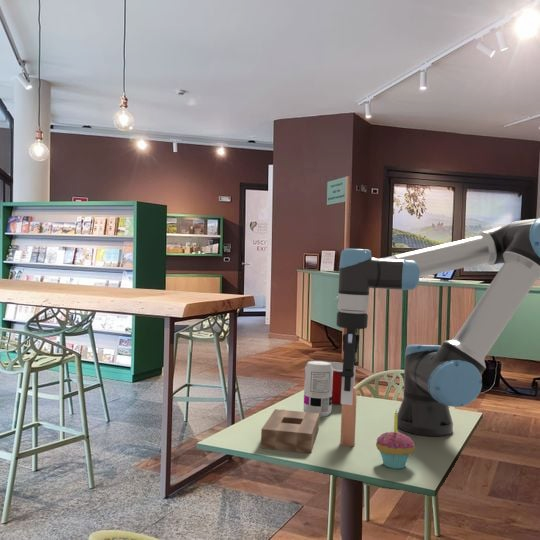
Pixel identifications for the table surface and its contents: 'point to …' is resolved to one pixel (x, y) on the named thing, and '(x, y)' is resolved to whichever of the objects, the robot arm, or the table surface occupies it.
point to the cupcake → (395, 447)
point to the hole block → (290, 431)
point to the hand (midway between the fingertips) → (347, 397)
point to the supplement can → (318, 387)
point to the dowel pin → (348, 422)
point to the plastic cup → (336, 382)
